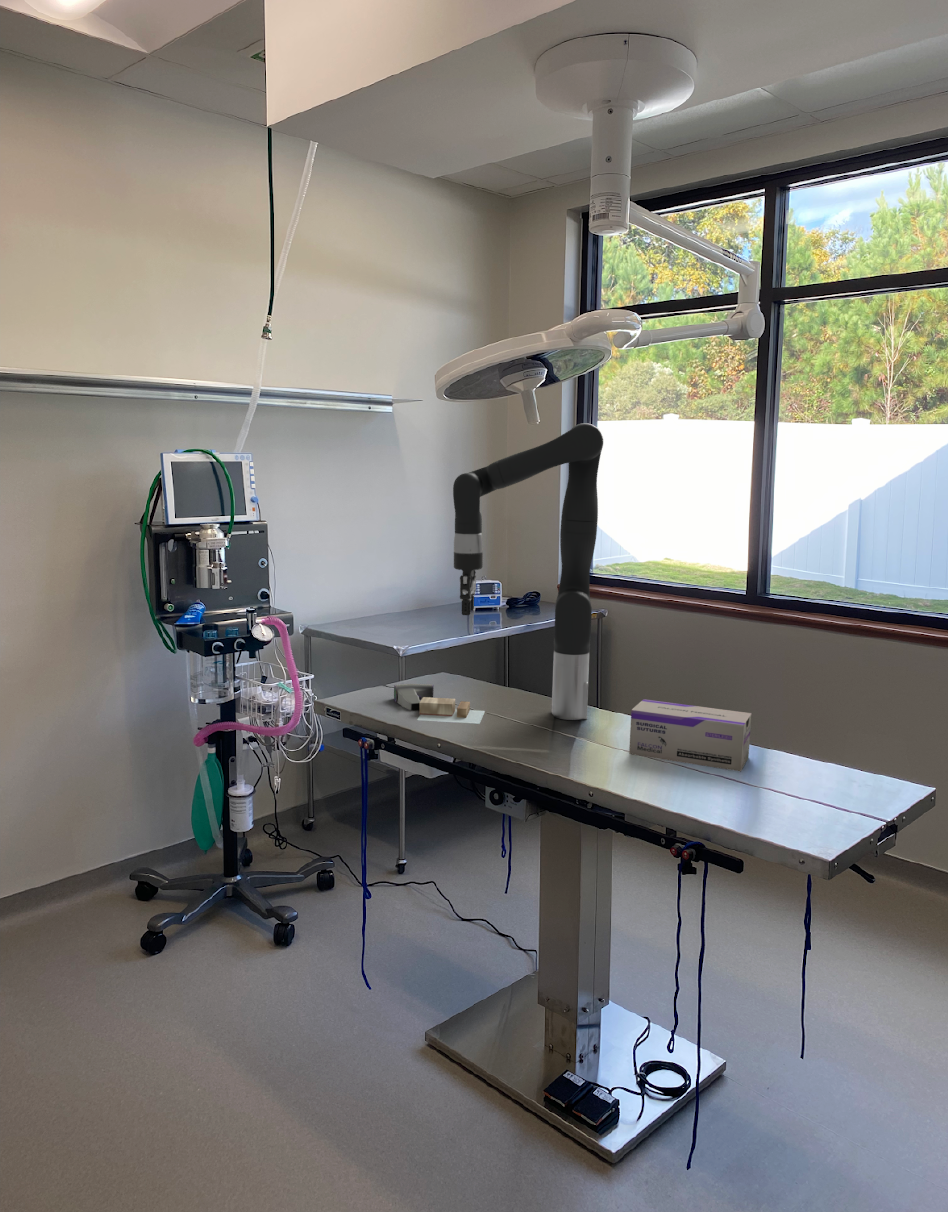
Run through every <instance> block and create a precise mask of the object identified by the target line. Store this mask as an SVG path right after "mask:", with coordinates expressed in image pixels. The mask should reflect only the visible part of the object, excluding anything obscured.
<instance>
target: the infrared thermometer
mask: <svg viewBox="0 0 948 1212" xmlns="http://www.w3.org/2000/svg"><path fill="white" fill-rule="evenodd" d="M393 686H394V687H393V700H394V702H395V703H397V704H398V705H400V706H401V707H402V708H405V709H407V710H408V711H419V710H420V701H421V700H422V698H423V697H430V698H434V684H425V683H424V684H423V683H422V684H421V683H405V684H404V683H402V684H395V685H393Z"/></svg>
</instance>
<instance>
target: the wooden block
mask: <svg viewBox="0 0 948 1212" xmlns="http://www.w3.org/2000/svg"><path fill="white" fill-rule="evenodd" d="M455 709H456V698H447V697H445V698H444V697H433V698H430V697H423V698H422V699H421V700H420V710H418V711H419V714H418V715H419V716H420V715H436V716H453V714H454V712H455Z"/></svg>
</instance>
